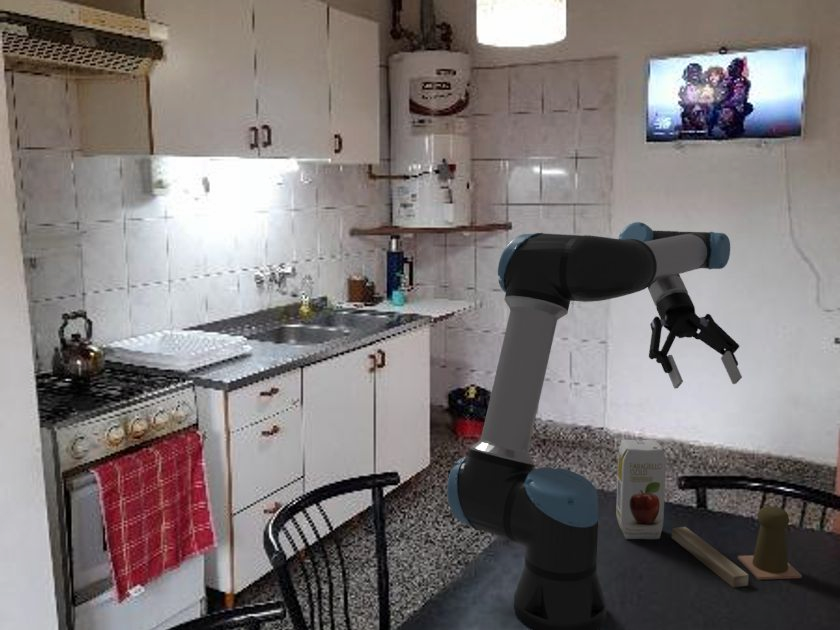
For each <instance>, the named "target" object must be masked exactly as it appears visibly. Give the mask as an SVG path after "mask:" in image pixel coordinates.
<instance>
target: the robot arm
mask: <svg viewBox="0 0 840 630" xmlns="http://www.w3.org/2000/svg"><path fill="white" fill-rule="evenodd" d="M730 256H731V241H730V238H729V237H728V235H727V234H726V233H723V232H713V231H710V232H706V231H678V230H675V231H674V230H653V229H652V228H651V227H650V226H649V225H647V224H645V223H644V222H641V221H636V222H632V223H629V224H628V225H626V226H625V227H624V228H623V229H622V230H621V232H620V234H619V236H618V238H611V237H605V236H597V235H590V234H589V235H587V234H585V235H579V234H578V235H577V234H564V233H563V234H560V233H545V232H535V233H522V234H519V235H518V236H516V237H514V239H512V240H510V241H509V242H508V243H507V244H506V246H505V248H504V249H503V251H502V253H501V255H500V258H499V261H498V265H497V266H498V267H497V276H498V277H499V278H498V281H497V282H498V284H499V287H500V289H501V291H502V292H504V293H505V296H504V302H505V303H506V305H507V307H508V309H509V315H508V319H507V323H506V326H505V327H506V328H505V332H504V335H503V341H502V346H501V351H500V354H499V358H498V363H497V367H496V371H495V376H494V380H493V384H492V387H491V388H492V389H491V393H490V397H489V402H488V406H487V411H486V415H485V419H484V425H483V429H482V432H481V437H480V439H479V441H477V442H476V443H474V444H473V445H471V446H470V448H469V449H468V450H469V451H468V455H467V456H464V457H461V458H459V459H458V460H457V461H456V462H455V466H453V467H451V469H450V472H449V476H448V479H447V484H446V499H447V504H448V506H449V509H450V511H451V513H452V515H453V516H454V518H455V519H456V520H457V521H459V522H460V523H462V524H465V525H467V526H469V527H471V528H472V529H473V530H476V531H483V532H485V533H487V534H488V533H489V534H491V535H494V536H496V537H500V538H501V539H502V538H503V539H505V540H508V541H512V542H515V543H517V544H520V545H522V546H524V567H523V570H522V572H521V575H520V578H519V581H518V583H517V586H516V589H515V591H514V595H513V612H514V615H515V617H516V618H517V619H518V621H519V622H520V623H521V624H522V625H524V626H525V627H526V628H528V629H529V630H600V629H601V628H602V627H603V626H604V625H605V622H606V619H607V602H606V598H605V594H604V591H603V589H602V585H601V582H600V579H599V575H598V572H597V564H598V563H597V562H598V561H597V560H598V539H599V538H598V535H599V533H598V532H599V519H600V508H599V497H598V496H599V495H598V491H597V489H596V488H595V485H593V483H592V482H591V480H589V479H587V478H586V477H585V476H583V475H581V474H579V473H577V472H575V471H572V470H569V469H566V468H561V467H556V468H553V467H551V466H547V467H539V468H538V467H537V468H534V467H535V462H534V460H533V458H532V457H531V455H530V453H529V450H530V446H531V441H532V436H533V431H534V426H535V422H536V417H537V414H538V413H537V412H538V408H539V404H540V400H541V396H542V391H543V386H544V382H545V378H546V372H547V368H548V363H549V359H550V355H551V350H552V345H553V341H554V337H555V332H556V329H557V324H558V321H559V320H560V319H561V318H564V316H566V315H568V312H569V309H570V305H571V304H570V303H571V301H573V302H584V303H588V302H589V303H590V302H601V301H607V300H608V301H609V300H612V299H615V298H620V297H625V296H628V295H630V294H631V295H632V294H635V293H638V292H641V291H643V290H646V289H648V291H649V295H650V296H651V299H652V301H653V303H654V306H655V309H656V311H657V313H658V316H654V318H653V319H652V321H651V323H650V328H651V338H650V345H649V352H648V358H649V359H650V360H654V359H655V361H656V363H658V364H660V365H661V368H662V370H663V372H664V373H665V374H667V375H668V377H669V379H670V381H671V384H672V386H673V388H674V390H675V389H679V387H681V385H682V384H683V382H684V380H683V378H682V376H681V373H680V371H679V368H678V366H677V364H676V362H675V358H674V357H673V355H672V354H669V352H670V350H671V347H672V346H673V344H674V341H675V339H676V337H677V338H678V339H683V338H694V339H696V340H699V341H701V342H703V343H704V344H706V345H707V346H708V347H709V348H711V349H712V350H714V351H715V352H717V353H718V354H720V355H721V357H720V360H721V363H722V364H723V366H724V368H725V370H726V372H727V375H728V377H729V379H730V381H731V383H732V384H733V385H736V384H737V383H739V381H740V380H741V379H742V378H743V375H742V374H741V371H740V370H739V367H738V366H739V362H738V360H737V357H736V355H735V353H736V352H737V350H738V349H739V348H740V344H739V343H737V342H736V341H735V340H734V338H732V337H731V336H730V335H729V334H728V333H727V332H726V330H724V329H723V328H722V327H721V326H720V325H719V324H718V323H717V322H716V321H715V320H714V318H713V316H712V315H711V314H709V313H706V314H705V316H698V315H697V314H696V310H695V308H696V307H695V305H694V303H693V300H692V298H691V296H690V295H689V292H688V290H687V287H686V285H685V283H684V280H683V279H682V276H681V275H680V274H684V273H688V272H691V271H694V270H700V269H708V270H722V269H724V268H725V267H726V266H727V265H728V262H729V260H730ZM663 328H664V329H666V330H667V331H668V334H667V337H666V338H665V342H664V343H663V346H662V347H661V349H660V344H661V337H662V329H663ZM698 331H699V332H698Z"/></svg>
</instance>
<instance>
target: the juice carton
mask: <svg viewBox="0 0 840 630" xmlns="http://www.w3.org/2000/svg"><path fill="white" fill-rule="evenodd" d="M617 458H618V459H617V482H616V483H617V486H616V487H617V488H616V510H615V511H616V513H615V514H616V515H615V516H616V520H617V523H618V526H619V528H620V531H621V532H622V535H623V538H625V540H660V538H661V534H662V531H663V527H664V516H665V515H664V514H665V496H666V495H665V493H666V489H665V487H666V473H667V472H666V470H667V469H666V468H667V467H666V465H667V464H666V463H667V460H666V453H665V449H664V447H662V446H661V444H660V443H659V441H658V440H656V439H643V440H635V439H624V438H623V439H621V441H620V446H619V449H618V457H617Z"/></svg>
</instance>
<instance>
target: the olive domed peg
mask: <svg viewBox="0 0 840 630" xmlns="http://www.w3.org/2000/svg"><path fill="white" fill-rule="evenodd" d="M757 520H758V523H759V524H760V526H759V531H758V534H757V535H758V536H757V539H756V544H755V548H754V554H753V555H754V557H753V561H752V562H753V565H754V566H755V567H756V568H758V569H760V570H762V571H765V572H769V573H784V572H786V571H787V570H788V563H789V562H788V560H789V559H788V551H787V548H788V547H787V540H786V538H787V536H786V535H787V534H786V529H787V527H788V526H789V523H790V516H789V513H787V511H786V510H785V509H783V508H781V507H779V506H778V507H777V506H773V505H772V506H771V505H770V506H769V505H768V506H766V505H765V506H764V507H761V508H760V509H759V511H758V513H757Z"/></svg>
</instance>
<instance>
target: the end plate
mask: <svg viewBox="0 0 840 630" xmlns="http://www.w3.org/2000/svg"><path fill="white" fill-rule="evenodd" d="M753 557H754V554H752V555H751V554H750V555H737V559H738V560H739V561H740V562H741V564H743V566H744V567H746V569H748V570H749V571H750V573H751V574H752V575H753V576H754V577H755V578H756V579H757V580H758V581H759V580H760V581H761V580H785V579H803V576H802V574H801V573H800V572H799V571H798V570H797V569H796V568H794V567H793V565H791V564H790V563H789V562H788V570H787V571H786V572H784V573H769V572H765V571H762V570H760V569H758V568H756V567H755V566H754V565H753V562H752V561H753Z"/></svg>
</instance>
